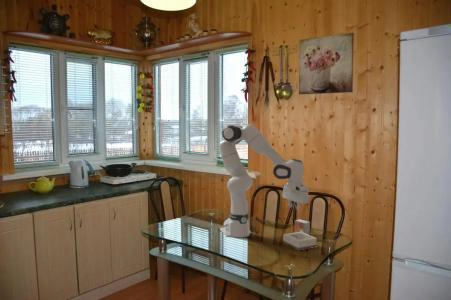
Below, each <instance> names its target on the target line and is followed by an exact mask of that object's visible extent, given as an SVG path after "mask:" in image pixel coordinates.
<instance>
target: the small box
mask: <svg viewBox="0 0 451 300" xmlns="http://www.w3.org/2000/svg"><path fill="white" fill-rule="evenodd" d="M310 224H311V222H310V221H307V220H303V219H302V218H301V219H300V218H299V219H295V221H294V232H293V233H295V232H303V233H306V234H308V235H310V229H311V228H310Z"/></svg>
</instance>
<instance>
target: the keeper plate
mask: <svg viewBox="0 0 451 300" xmlns="http://www.w3.org/2000/svg"><path fill="white" fill-rule="evenodd" d="M303 238H304V234H303V233H302V232H300V233H299V235H298V239H299V240H300V239H303ZM283 244H284V245H286V246H288V245H289V246H288V247H290V246H291V248H292V247H293V248H292V249H294V248H296V249H298V250H302V251H304V250H303V249H307V248H311V247H315V246H319V245H318V244H317V245H312V246H307V247H301V248H297V247H295V246H293V245H291V244H289V243H287V242H285V241H283ZM296 249H295V250H296ZM298 250H297V251H298Z"/></svg>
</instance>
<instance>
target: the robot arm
mask: <svg viewBox="0 0 451 300" xmlns="http://www.w3.org/2000/svg"><path fill="white" fill-rule="evenodd" d="M221 135H222V138H223V140H221V141H220V142H219V144H218V150H219V153H220V157H221V160H222V163H223V165H224V169H225V171H227V172H228V173H229V174H230V176H231V178H229V180H228V181H227V183H226V189H227V190H228V192H229V196H230V212H229V213H228V214H229V216H228V218H227V219H226V220H224V221H223V224H222V227H220V228H219V230H220V231H221V233H222V234H223V235H224V236H225V237H232V238H247V237H249V236H250V234H252V231H251V230H250V220H249V213H248V212H249V201H248V198H247V192H246V191H248V190H249V189H250V188H251V187H252V186H253V184H254V183H253V182H254V180H253V177H251V175H250V174H249V173H248V171H247V170H246V168H245V167H244V165H243V163H242V161H241V158H240V155H239V153H238V151H237V147H236V145H238V144H240V143H241V141H244V142H246V144H247V145H248V147H250V148H251V149H252V150H253V151H254V152H255V153H256V154H260V155H263V156H265V157H267V158H268V159H269V160H270V161H271V162H272V164H273V165H274V167H273V170H272V173H273V175H274V178H276V179H277V180H286V179H287V180H288V181H287V183H285V184H284V185H283V190H282V193H281V195H282V198H283V199H285V200H287V203H288V207H289V208H293V203H292V202H295V203H296V206H295V210H297V211H298V210H300V207H301V205H307V204H308V203H309V190H310V189H309V187H308V186H307V185H306V184H305V183H304V179H303V177H304V174H305V173H304V171H305V168H304V167H305V165H304V163H303V161H302V160H300V159H297V158H291V159H290V160H288V161H286V160H285V159H283V157H282V156H281V155H280V154H279V153H278V152H277V151H276V150H275V149H274V148H273V146H272V144H270V143H269V141H268V140H267V138H266V137H265V136H264V135H263V133H262V132H261V131H260V130H259V129H258V128H257V127H255V126H254V125H253V124H251V123H249V124H246V125H244V126H243V127H242V126H240V125H236V124H230V125H227V126H225V127H224V128H223V129H222V133H221Z"/></svg>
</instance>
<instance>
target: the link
mask: <svg viewBox="0 0 451 300" xmlns="http://www.w3.org/2000/svg"><path fill="white" fill-rule="evenodd" d="M299 233H300V232H295V233H294V232H290V233H284V234H283V235H282V236H283V238H282V241H283V242H284V241H285V242H287V243H289V244H291V245H293V246H295V247H297V248H301V247H307V246H312V245H318V244H317V243H318V242H317V240H318V238H317V237H315V236H312V235H310V234H309V235H308V234H306V233H303V232H302V233H303V234H304V238H303V239H300V240H299V239H298V235H299Z"/></svg>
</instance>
